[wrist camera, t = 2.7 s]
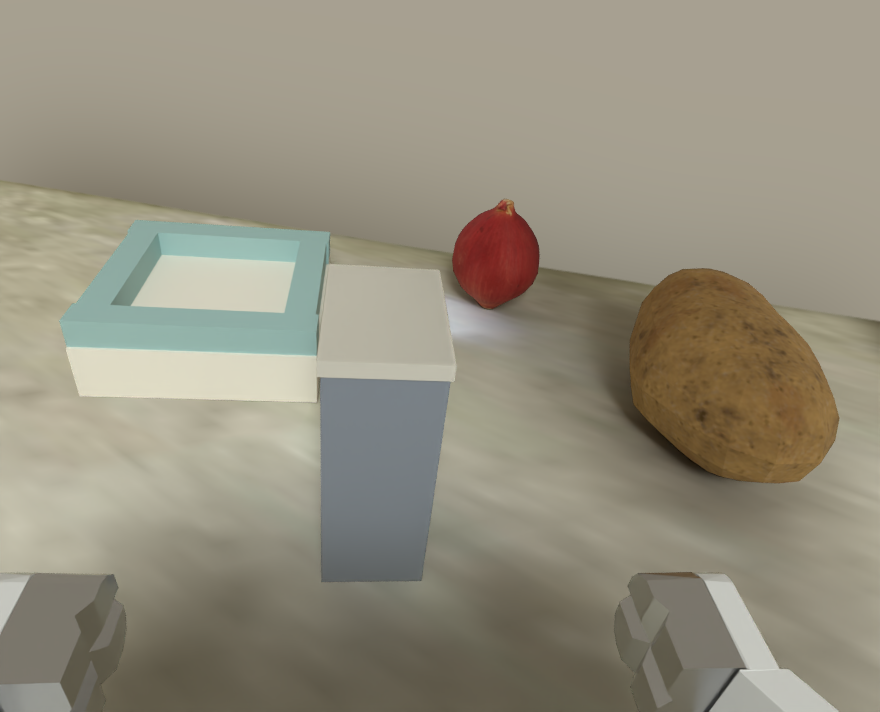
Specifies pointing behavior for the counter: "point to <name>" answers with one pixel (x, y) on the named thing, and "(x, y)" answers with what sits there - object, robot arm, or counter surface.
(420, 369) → the blue-grey box
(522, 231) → the onion
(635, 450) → the counter surface
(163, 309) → the display stand
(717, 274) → the potato
